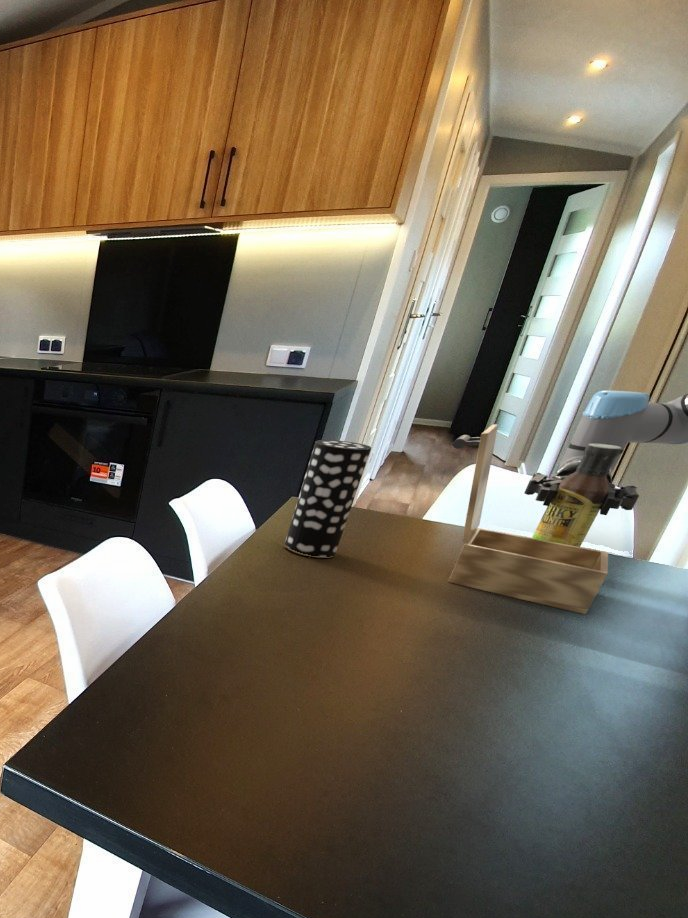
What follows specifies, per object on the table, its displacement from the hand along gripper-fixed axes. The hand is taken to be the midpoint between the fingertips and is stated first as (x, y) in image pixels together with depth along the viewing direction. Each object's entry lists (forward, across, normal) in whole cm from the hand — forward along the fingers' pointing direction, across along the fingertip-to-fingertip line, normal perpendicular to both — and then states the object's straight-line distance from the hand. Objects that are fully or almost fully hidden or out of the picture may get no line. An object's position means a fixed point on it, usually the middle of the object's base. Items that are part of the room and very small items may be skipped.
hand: (577, 502), depth 106 cm
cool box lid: (+11, +12, +3) cm, 16 cm away
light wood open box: (+11, +3, -13) cm, 17 cm away
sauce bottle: (-5, 0, -11) cm, 12 cm away
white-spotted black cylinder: (+19, +32, -13) cm, 39 cm away
